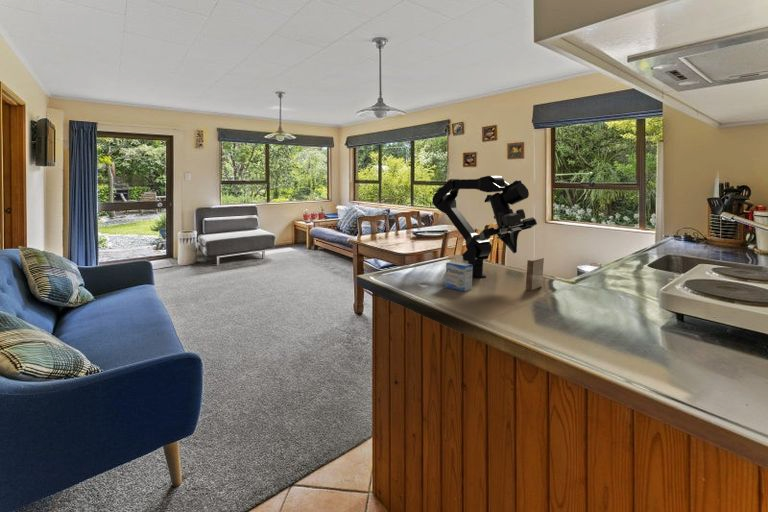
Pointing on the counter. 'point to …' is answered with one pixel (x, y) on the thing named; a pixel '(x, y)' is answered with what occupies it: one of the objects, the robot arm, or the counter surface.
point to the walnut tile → (534, 273)
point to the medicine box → (458, 276)
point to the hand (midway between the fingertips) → (515, 252)
